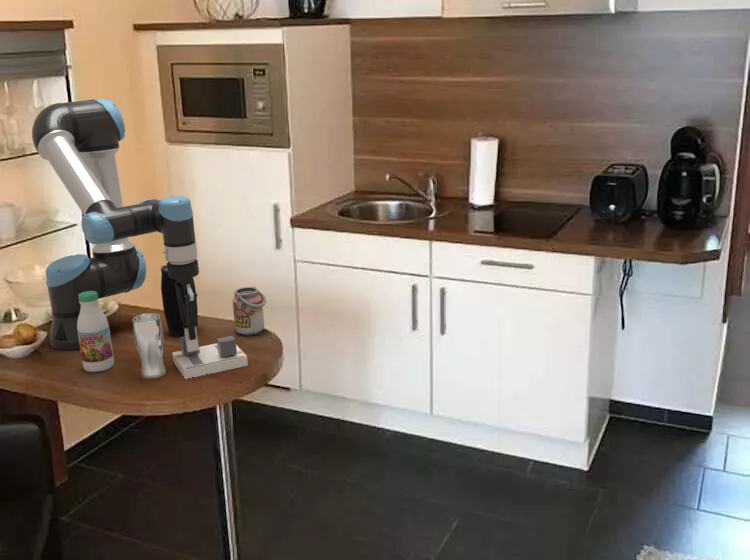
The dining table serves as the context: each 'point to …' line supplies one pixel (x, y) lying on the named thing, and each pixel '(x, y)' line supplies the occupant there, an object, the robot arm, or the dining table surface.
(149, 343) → the beer glass
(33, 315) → the dining table surface
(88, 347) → the milk bottle
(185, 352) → the tab
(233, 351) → the tab
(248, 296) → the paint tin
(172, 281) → the portable speaker
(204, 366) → the switch panel
